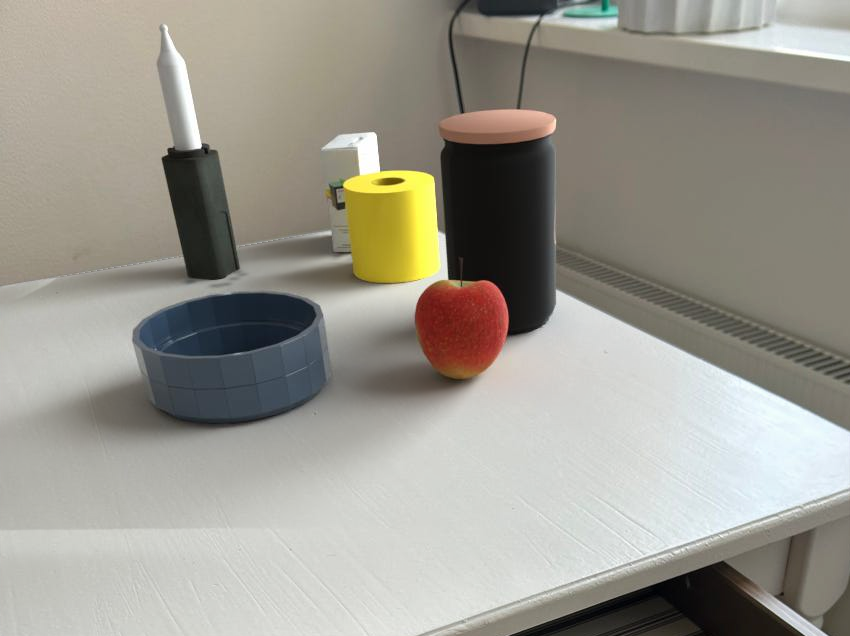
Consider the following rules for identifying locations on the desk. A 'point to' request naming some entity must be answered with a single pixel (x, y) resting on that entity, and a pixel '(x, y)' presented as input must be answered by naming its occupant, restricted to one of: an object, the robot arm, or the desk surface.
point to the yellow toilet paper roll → (392, 226)
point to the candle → (194, 177)
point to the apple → (461, 325)
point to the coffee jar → (503, 207)
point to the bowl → (233, 355)
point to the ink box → (346, 177)
